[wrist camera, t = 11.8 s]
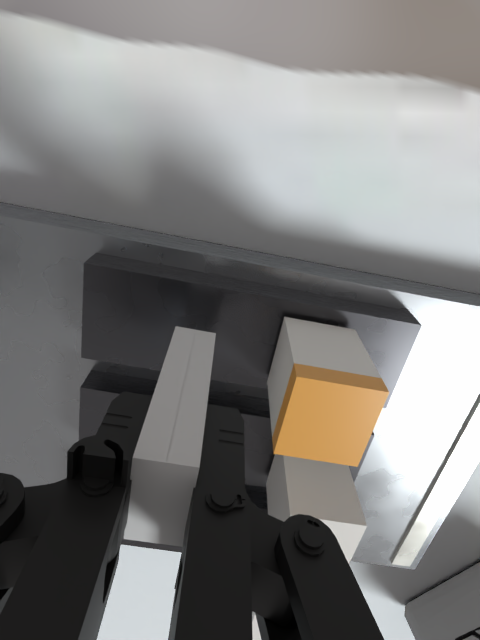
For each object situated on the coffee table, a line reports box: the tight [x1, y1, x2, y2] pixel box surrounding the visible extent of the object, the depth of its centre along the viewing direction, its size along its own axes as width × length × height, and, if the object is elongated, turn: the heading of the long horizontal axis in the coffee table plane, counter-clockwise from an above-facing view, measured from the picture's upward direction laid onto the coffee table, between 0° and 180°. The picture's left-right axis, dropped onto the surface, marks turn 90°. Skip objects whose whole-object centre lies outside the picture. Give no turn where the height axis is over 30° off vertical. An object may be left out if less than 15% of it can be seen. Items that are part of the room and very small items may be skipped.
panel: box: [0, 202, 480, 570], centre depth 22 cm, size 28×18×4 cm, turn 79°
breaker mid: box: [266, 454, 367, 564], centre depth 18 cm, size 3×3×4 cm
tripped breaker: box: [267, 317, 389, 467], centre depth 15 cm, size 3×3×4 cm
